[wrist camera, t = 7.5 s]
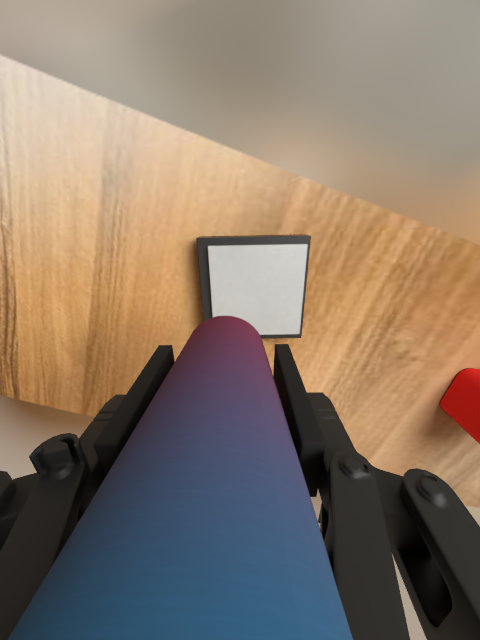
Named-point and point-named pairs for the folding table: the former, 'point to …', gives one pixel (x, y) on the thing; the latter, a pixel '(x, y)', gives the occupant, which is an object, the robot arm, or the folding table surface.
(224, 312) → the scale
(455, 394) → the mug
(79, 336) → the folding table surface
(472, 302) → the folding table surface
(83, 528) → the cup
